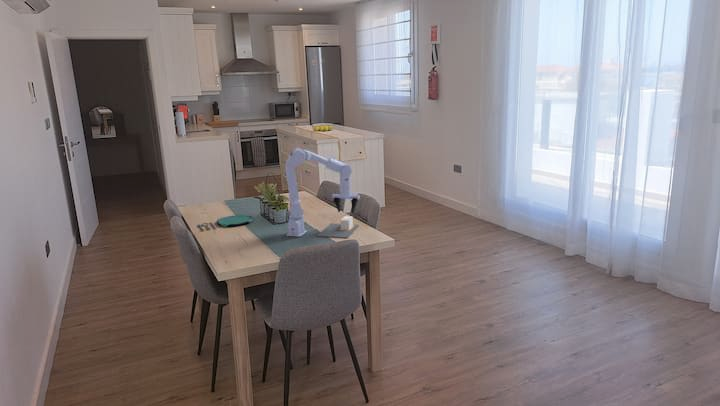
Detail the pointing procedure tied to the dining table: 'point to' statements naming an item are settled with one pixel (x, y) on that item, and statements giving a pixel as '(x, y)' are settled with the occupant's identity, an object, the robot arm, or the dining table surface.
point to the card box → (346, 222)
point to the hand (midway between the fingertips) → (346, 211)
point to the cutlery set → (230, 221)
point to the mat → (336, 231)
